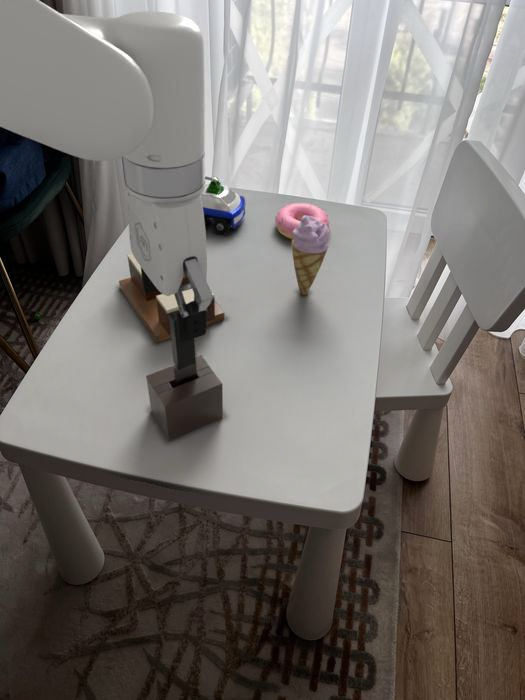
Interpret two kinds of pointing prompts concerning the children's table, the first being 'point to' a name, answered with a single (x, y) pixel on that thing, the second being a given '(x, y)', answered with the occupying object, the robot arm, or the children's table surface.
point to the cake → (137, 278)
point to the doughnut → (297, 217)
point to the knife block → (185, 400)
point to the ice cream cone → (309, 250)
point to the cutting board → (153, 310)
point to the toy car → (222, 206)
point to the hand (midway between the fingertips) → (173, 312)
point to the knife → (182, 355)
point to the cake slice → (170, 305)
